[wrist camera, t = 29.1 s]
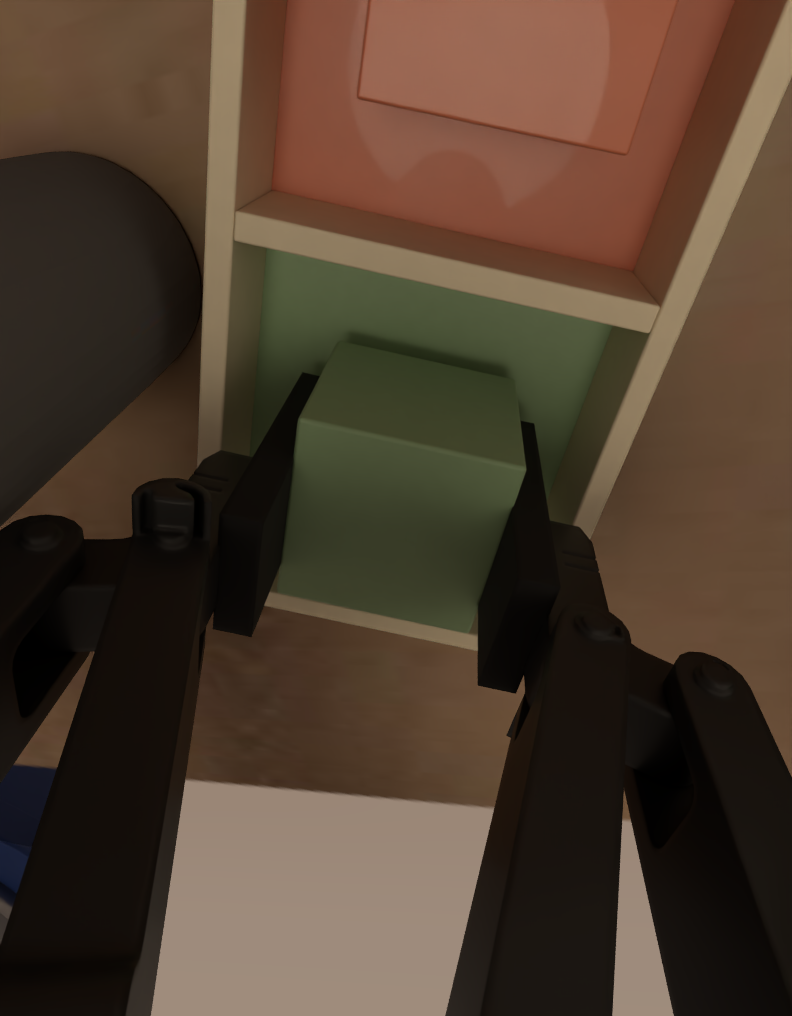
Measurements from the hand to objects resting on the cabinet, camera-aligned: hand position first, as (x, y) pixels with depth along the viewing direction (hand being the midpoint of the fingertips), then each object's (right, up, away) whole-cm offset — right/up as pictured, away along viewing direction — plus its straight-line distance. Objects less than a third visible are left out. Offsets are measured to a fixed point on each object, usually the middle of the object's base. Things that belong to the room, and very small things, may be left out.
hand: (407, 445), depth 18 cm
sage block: (0, 0, 0) cm, 0 cm away
